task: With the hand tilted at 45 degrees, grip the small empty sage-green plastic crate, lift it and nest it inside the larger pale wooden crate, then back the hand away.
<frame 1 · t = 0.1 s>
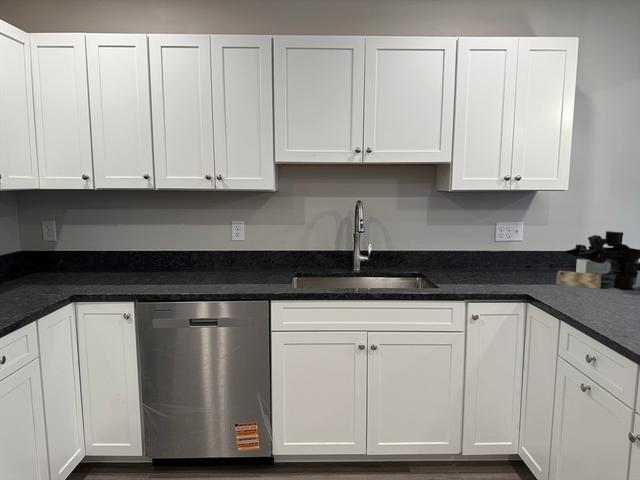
hand: (571, 253, 192), 17 cm above the worktop, tool horizontal, fingers open, 9 cm apart
tin: (596, 274, 228), on the worktop
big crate: (578, 283, 204), on the worktop
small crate: (585, 278, 215), on the worktop
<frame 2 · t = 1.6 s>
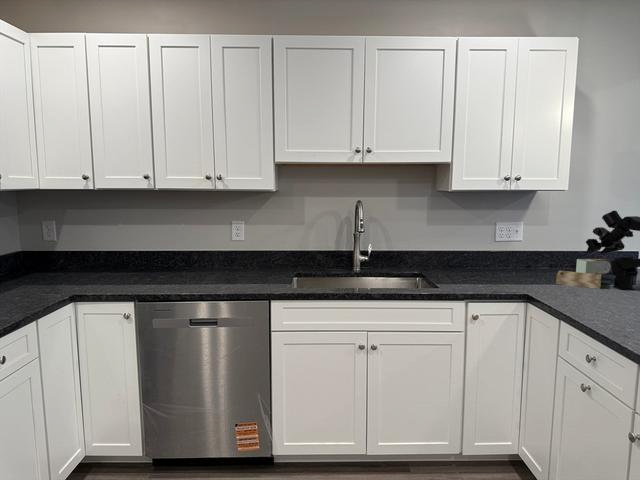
hand: (593, 254, 208), 14 cm above the worktop, tool tilted 45°, fingers open, 9 cm apart
nothing on the worktop moved.
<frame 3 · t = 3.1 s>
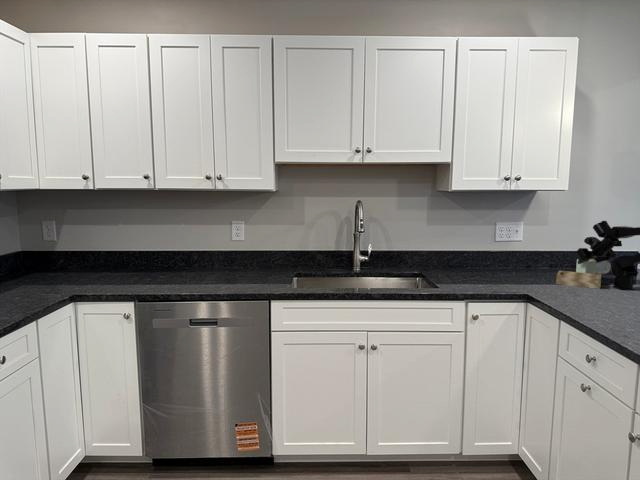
hand: (585, 263, 214), 8 cm above the worktop, tool tilted 45°, fingers open, 9 cm apart
nothing on the worktop moved.
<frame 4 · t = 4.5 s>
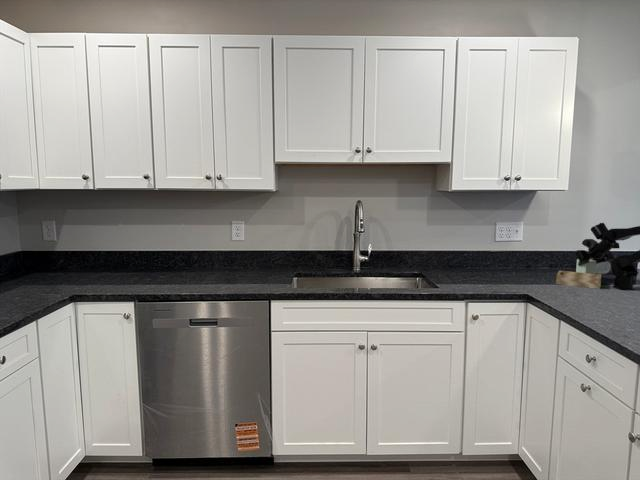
hand: (583, 265, 215), 7 cm above the worktop, tool tilted 45°, fingers closed on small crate, 6 cm apart
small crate: (585, 278, 215), on the worktop, touching gripper
everything else where it was.
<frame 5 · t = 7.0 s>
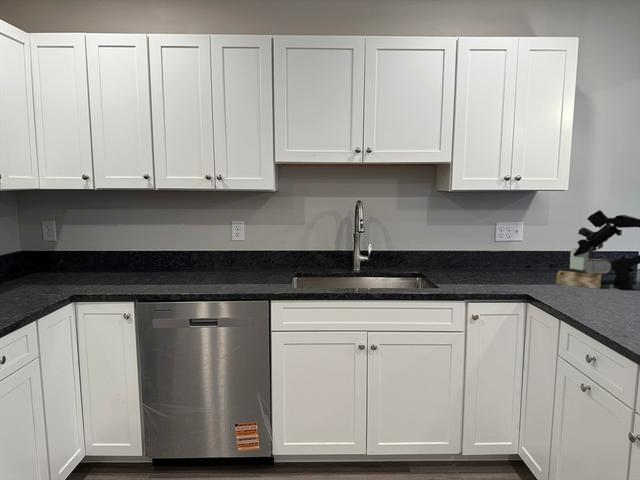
hand: (576, 254, 208), 13 cm above the worktop, tool tilted 45°, fingers closed on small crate, 6 cm apart
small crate: (578, 269, 208), point 6 cm above the worktop, touching gripper
everything else where it was.
when the fingers open (9 cm above the worktop, at t = 9.4 s): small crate drops 1 cm, resting on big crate.
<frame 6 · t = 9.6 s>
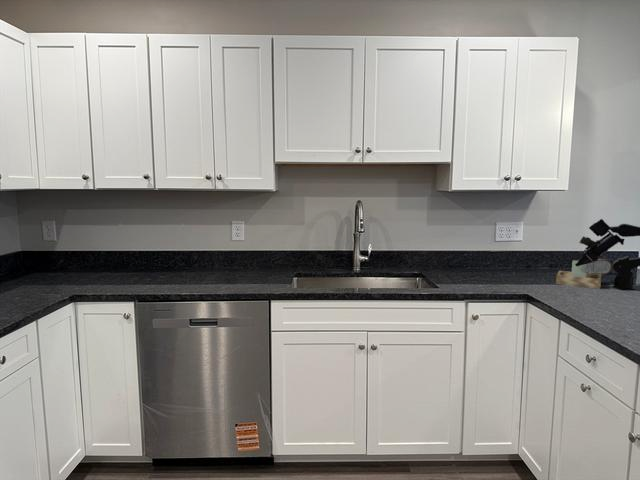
hand: (576, 264, 203), 10 cm above the worktop, tool tilted 45°, fingers open, 8 cm apart
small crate: (578, 281, 204), point 1 cm above the worktop, touching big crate
everything else where it was.
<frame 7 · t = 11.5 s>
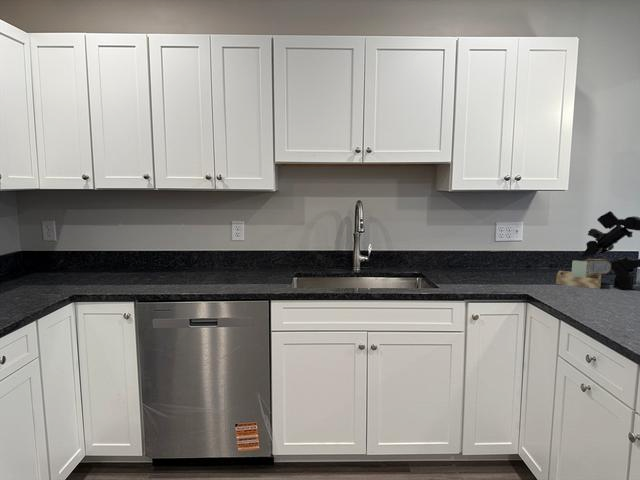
hand: (585, 256, 205), 13 cm above the worktop, tool tilted 45°, fingers open, 9 cm apart
nothing on the worktop moved.
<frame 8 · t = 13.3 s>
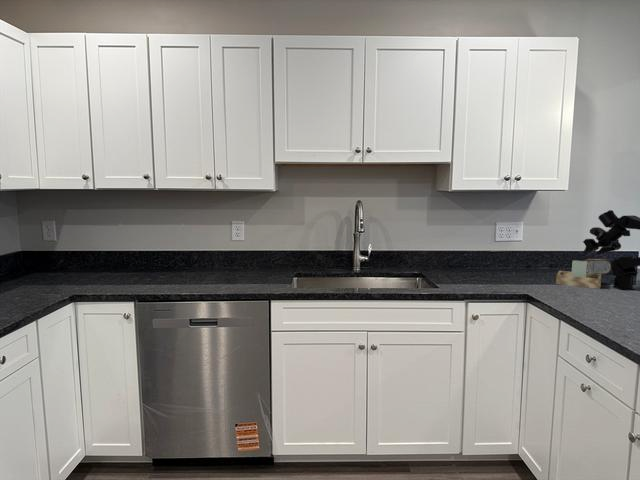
hand: (590, 254, 209), 14 cm above the worktop, tool tilted 45°, fingers open, 9 cm apart
nothing on the worktop moved.
at the end: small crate inside the target area on the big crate (0.0 cm from its centre), point 1.0 cm above the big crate's base; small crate tilted 0°; the gripper is holding nothing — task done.
